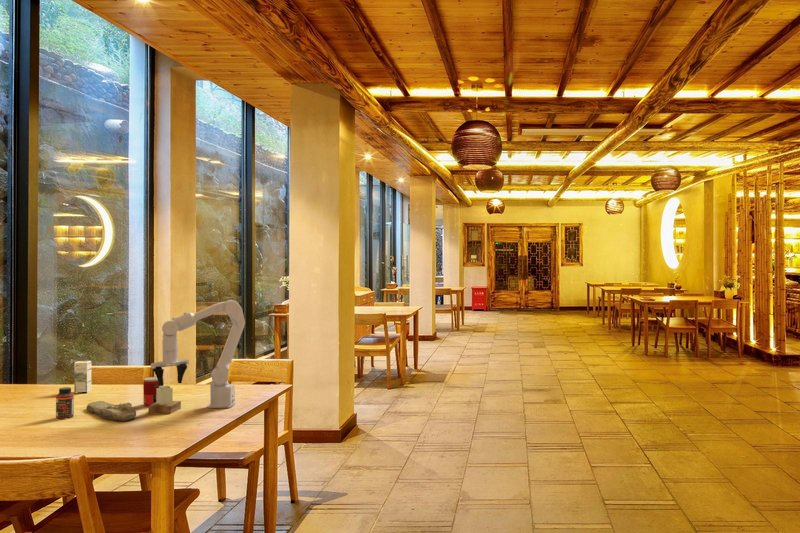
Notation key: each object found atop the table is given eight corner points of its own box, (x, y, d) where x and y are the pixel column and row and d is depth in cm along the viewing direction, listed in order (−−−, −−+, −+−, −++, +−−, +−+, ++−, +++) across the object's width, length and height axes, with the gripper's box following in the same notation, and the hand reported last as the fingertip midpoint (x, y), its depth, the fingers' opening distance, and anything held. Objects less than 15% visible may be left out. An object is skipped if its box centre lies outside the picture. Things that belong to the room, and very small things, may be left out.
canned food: (156, 406, 243) (156, 380, 243) (139, 406, 245) (139, 379, 245) (167, 403, 251) (167, 377, 251) (150, 402, 252) (150, 376, 252)
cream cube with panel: (167, 401, 239) (168, 384, 239) (172, 403, 236) (172, 386, 236) (156, 403, 236) (156, 386, 236) (160, 405, 232) (161, 388, 232)
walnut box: (180, 409, 240) (180, 401, 240) (170, 414, 231) (170, 405, 231) (159, 409, 240) (159, 400, 240) (148, 414, 231) (148, 405, 231)
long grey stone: (105, 409, 246) (80, 415, 238) (104, 397, 246) (79, 402, 239) (144, 418, 223) (117, 424, 215) (143, 404, 223) (116, 410, 215)
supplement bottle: (55, 420, 221) (55, 390, 222) (56, 417, 227) (56, 387, 227) (73, 418, 224) (73, 388, 224) (73, 415, 229) (74, 386, 230)
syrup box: (91, 390, 278) (91, 360, 278) (86, 393, 272) (87, 361, 273) (79, 391, 277) (79, 360, 278) (73, 393, 272) (73, 362, 272)
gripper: (155, 353, 230) (156, 388, 230) (191, 349, 240) (192, 383, 240) (148, 351, 235) (149, 385, 235) (184, 348, 245) (184, 380, 245)
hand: (170, 384), depth 238 cm, fingers open, 7 cm apart
